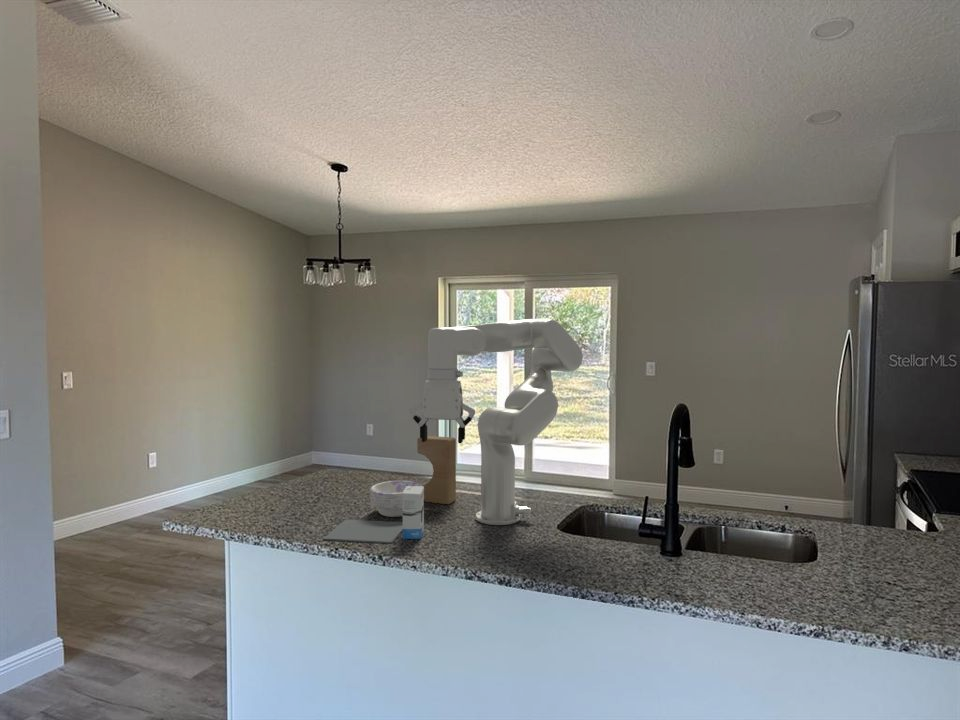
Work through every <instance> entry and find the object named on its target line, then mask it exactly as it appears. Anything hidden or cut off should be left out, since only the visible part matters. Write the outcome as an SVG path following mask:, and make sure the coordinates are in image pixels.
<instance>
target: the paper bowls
mask: <svg viewBox="0 0 960 720" xmlns="http://www.w3.org/2000/svg"><path fill="white" fill-rule="evenodd" d="M421 484H422V483H419V482H417V481H412V480H391V481H390V480H388V481H383V482H379V483H376V484H373V485H372V486H371V487H370V489H369V491H370V492H369V494H370V500H369V501H370V506H372V507H374V508H375V509H377V511H378V513H379V514H380V515H381V516H384V517H387V518H388V517H389V518H400V517H401V518H403V498H402V494H403V491H404V489H405V488H406V486H422V485H421Z"/></svg>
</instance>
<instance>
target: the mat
mask: <svg viewBox="0 0 960 720" xmlns="http://www.w3.org/2000/svg"><path fill="white" fill-rule="evenodd" d="M401 533H403V521H402V522H401V521H386V520H385V521H381V520H363V519H362V520H361V519H359V520H358V519H344V520H343V521H342V522H341V523H340V524H339V525H337V526H336V527H335V528H334V529H333V530H331V531H330V532H329V533H328V534H327V535H326V536H324V537H322V540H323V541H332V540H333V542H335V541H337V542H355V543H374V544H393V543H394V542H395V541H396V540H397V539H398V537H399V536H400V535H401ZM399 534H400V535H399ZM398 535H399V536H398ZM394 540H395V541H394Z"/></svg>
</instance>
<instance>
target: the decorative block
mask: <svg viewBox="0 0 960 720" xmlns="http://www.w3.org/2000/svg"><path fill="white" fill-rule="evenodd" d="M456 440H457V439H456V437H451V436H450V437H449V436H438V435H437V436H436V435H427V440H426V441H425V442H422V438H420V436H419V437H418V438H417V453H418V454H419V455H423V456H424V457H425V458H427V459H428V460H429V462H430V463H431V465H432V469H433V470H432V477H431V479H430V480H429V481H428V482H424V483H420V484H421V485H422V486H424V501H425V502H424V503H429V502H432V503H431V504H437V503H439V504H438V505H445V504H449V505H451V504H452V503H454V502H455V501H456V499H457V496H456V495H457V489H456V486H457V485H456V483H457V481H456V480H457V470H456V469H457V467H456V466H457V451H456V450H457V448H456V447H457V442H456Z"/></svg>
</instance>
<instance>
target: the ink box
mask: <svg viewBox="0 0 960 720" xmlns="http://www.w3.org/2000/svg"><path fill="white" fill-rule="evenodd" d="M402 498H403V516H402V522H403V531H402V539H403V540H420V539H422V536H423V532H424V530H425V527H424V526H425V524H424V523H425V519H424V518H425V510H424V509H425V505H424V504H425V502H424V486H406V488H405V489H404V491H403V494H402Z"/></svg>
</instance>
